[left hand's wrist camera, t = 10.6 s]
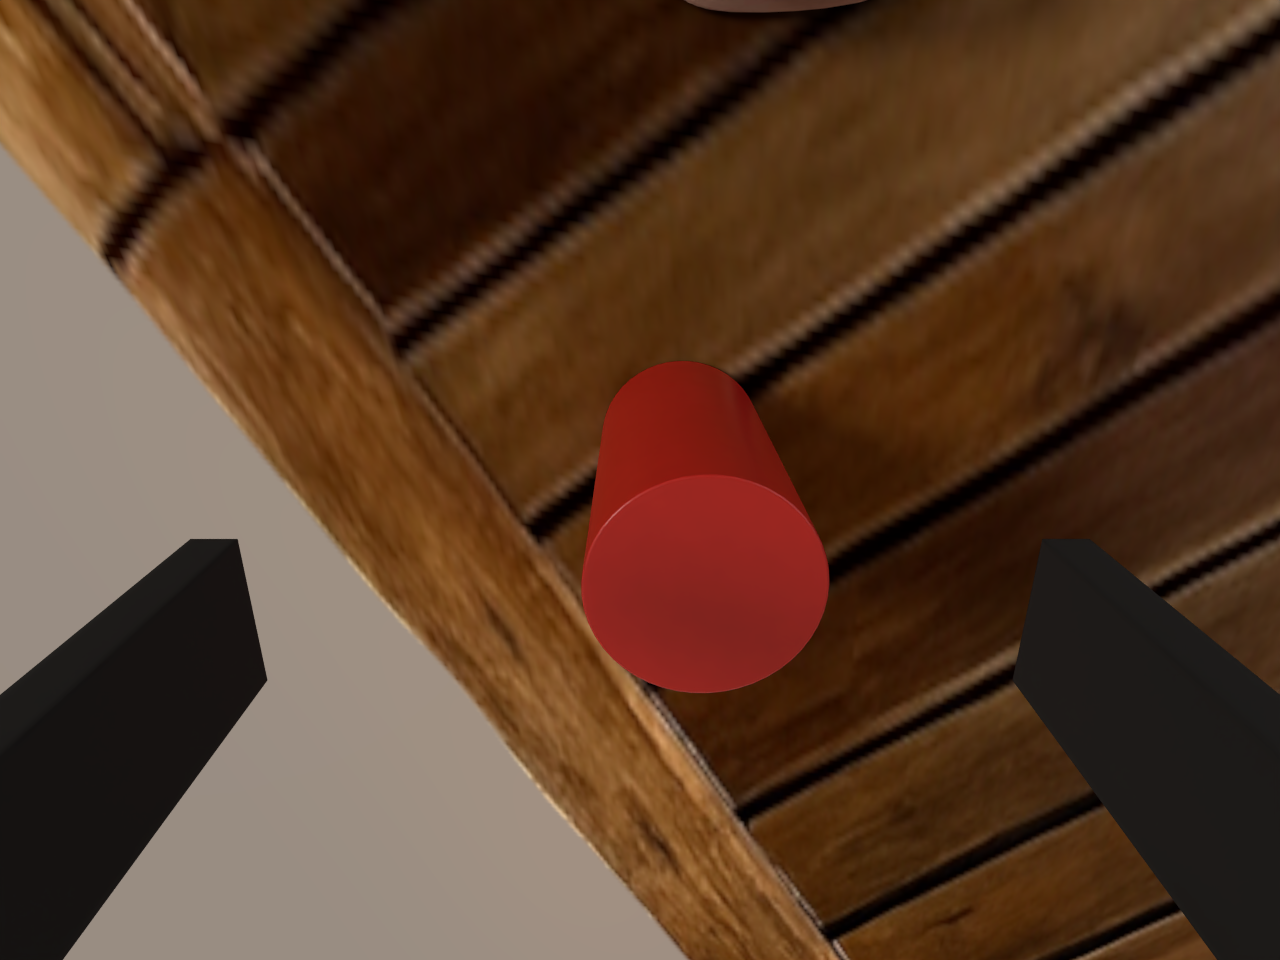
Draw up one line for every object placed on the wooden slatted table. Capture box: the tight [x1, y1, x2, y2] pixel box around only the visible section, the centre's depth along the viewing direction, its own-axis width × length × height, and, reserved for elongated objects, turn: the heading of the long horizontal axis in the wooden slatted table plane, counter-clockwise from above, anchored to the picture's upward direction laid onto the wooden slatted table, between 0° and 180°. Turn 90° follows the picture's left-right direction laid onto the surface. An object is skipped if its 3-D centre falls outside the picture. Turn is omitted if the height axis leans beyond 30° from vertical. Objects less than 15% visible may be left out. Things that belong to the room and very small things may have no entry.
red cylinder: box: [581, 361, 829, 693], centre depth 24 cm, size 6×6×12 cm
